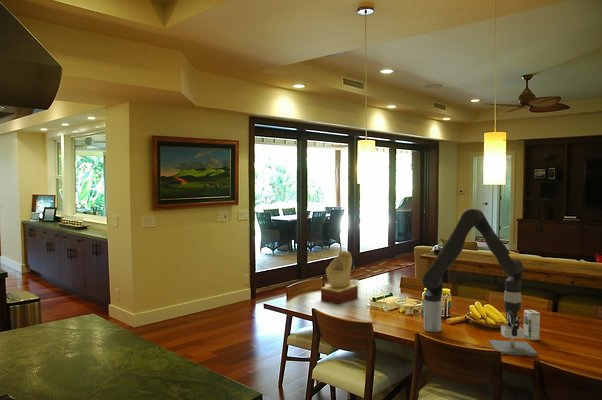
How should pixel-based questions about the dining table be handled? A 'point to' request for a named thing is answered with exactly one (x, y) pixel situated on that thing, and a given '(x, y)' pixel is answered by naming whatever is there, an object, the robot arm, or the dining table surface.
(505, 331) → the steel link
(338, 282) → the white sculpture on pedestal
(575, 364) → the dining table surface
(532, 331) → the syrup box
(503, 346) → the board
